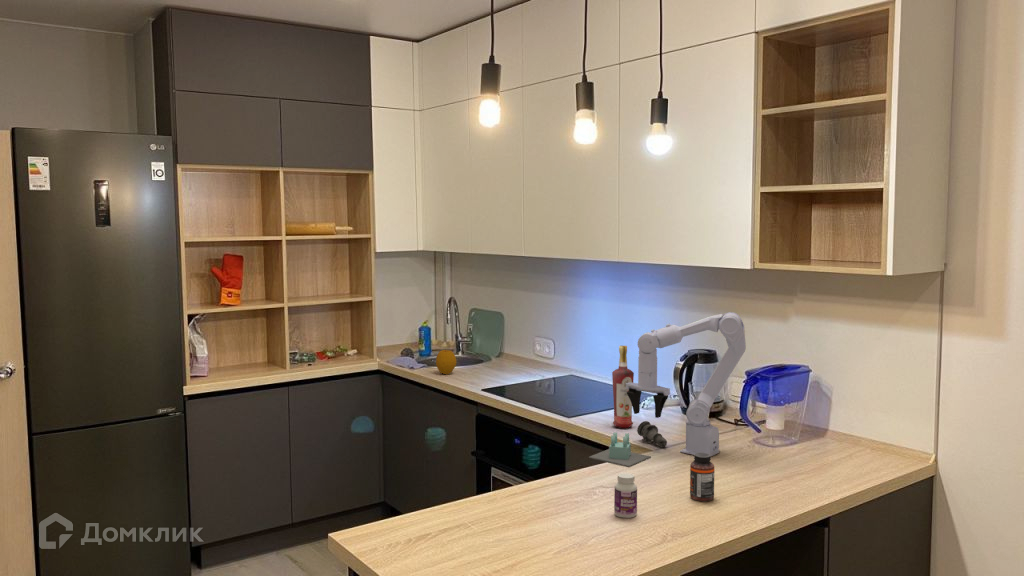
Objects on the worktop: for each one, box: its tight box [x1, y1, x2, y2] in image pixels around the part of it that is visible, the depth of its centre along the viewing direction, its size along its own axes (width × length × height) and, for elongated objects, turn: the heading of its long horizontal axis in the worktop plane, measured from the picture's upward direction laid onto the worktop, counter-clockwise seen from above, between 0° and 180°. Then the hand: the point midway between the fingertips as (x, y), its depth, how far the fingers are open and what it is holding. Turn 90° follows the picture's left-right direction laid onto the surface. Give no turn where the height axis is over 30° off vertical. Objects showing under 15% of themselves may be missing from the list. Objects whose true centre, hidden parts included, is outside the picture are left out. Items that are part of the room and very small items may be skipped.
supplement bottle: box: [689, 453, 715, 502], centre depth 199 cm, size 6×6×11 cm
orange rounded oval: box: [435, 349, 457, 375], centre depth 369 cm, size 10×10×12 cm
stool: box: [608, 432, 632, 460], centre depth 234 cm, size 6×6×6 cm
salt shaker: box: [636, 420, 668, 448], centre depth 248 cm, size 6×6×12 cm
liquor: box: [611, 345, 635, 430], centre depth 269 cm, size 7×7×28 cm
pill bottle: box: [613, 472, 638, 519], centre depth 188 cm, size 5×5×10 cm
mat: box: [588, 448, 652, 468], centre depth 234 cm, size 14×12×1 cm
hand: (647, 415), depth 243 cm, fingers open, 7 cm apart
